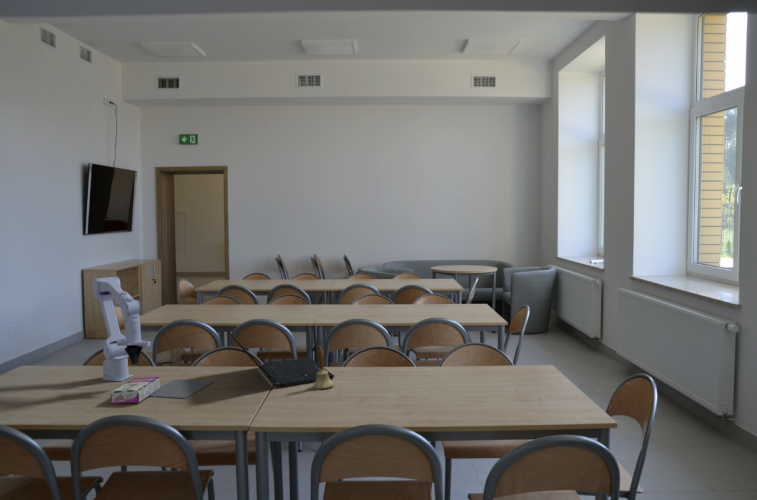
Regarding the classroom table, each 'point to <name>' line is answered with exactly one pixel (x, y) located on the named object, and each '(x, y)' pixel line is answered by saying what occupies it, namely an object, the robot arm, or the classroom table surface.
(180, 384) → the mat
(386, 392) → the classroom table surface
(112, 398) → the candy bar box
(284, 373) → the laptop
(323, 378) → the hand bell
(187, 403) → the classroom table surface
